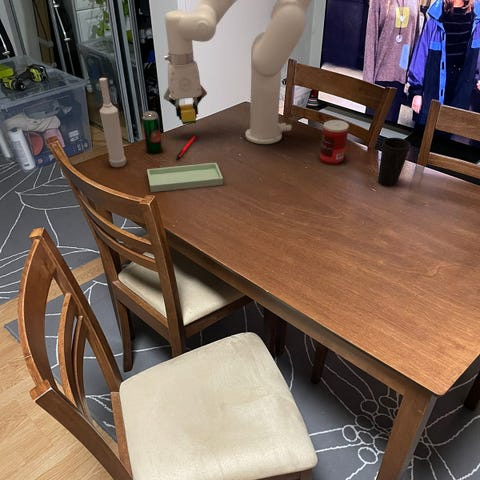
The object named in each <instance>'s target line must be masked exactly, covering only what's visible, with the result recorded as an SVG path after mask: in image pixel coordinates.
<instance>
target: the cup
mask: <svg viewBox="0 0 480 480" xmlns="http://www.w3.org/2000/svg"><path fill="white" fill-rule="evenodd" d="M381 145H382V146H381V153H380V160H379V161H380V163H379V170H378V176H377V177H378V178H377V183H378V184H379V185H380V186H382V187H386V188H393V187H395V186H397V184H398V182H399V179H400V176H401V173H402V171H403V168H404V166H405V164H406V160H407V157H408V154H409V151H410V149H411V146H412V145H411V143H410V142H409V140H407V139H405V138H401V137H387V138H385V139H383V141H382V144H381Z"/></svg>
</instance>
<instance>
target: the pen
mask: <svg viewBox="0 0 480 480" xmlns="http://www.w3.org/2000/svg"><path fill="white" fill-rule="evenodd" d="M196 138H197V135H196V134H195V135H193V136H192V137H191V139H190V140H189V141H188V142H187V144H186V145H185V146H184V147H183V149H181V151H180V152H179V153H178V154H177V156H176V159H175V160H176V161H178V160H180V158H182V156H183V155H184V154H185V152H186V151H187V150H188V149H189V148H190V146H191V145H192V143H193V142H194V141H195V140H196Z"/></svg>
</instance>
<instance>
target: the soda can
mask: <svg viewBox="0 0 480 480" xmlns="http://www.w3.org/2000/svg"><path fill="white" fill-rule="evenodd" d="M141 119H142V128H143V136H144V142H145V143H144V144H145V150H146V151H147V153H150V154H159V153H161V152H162V150H163V145H162V136H161V127H160V118H159V115H158V112H156V111H154V110H148V111H144V112H143V113H142V116H141Z"/></svg>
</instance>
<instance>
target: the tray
mask: <svg viewBox="0 0 480 480" xmlns="http://www.w3.org/2000/svg"><path fill="white" fill-rule="evenodd" d="M146 173H147V178H148V184H149V189H150V193H158V192H168V191H174V190H175V191H176V190H185V189H186V190H187V189H196V188H206V187H214V186H223V185H224V178H223V175H222V173H221V170H220V168H219V165H218V163H217V162H209V163H208V162H207V163H199V164H197V163H196V164H189V165H178V166H167V167H158V168H157V167H156V168H148V169H147V170H146Z"/></svg>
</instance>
